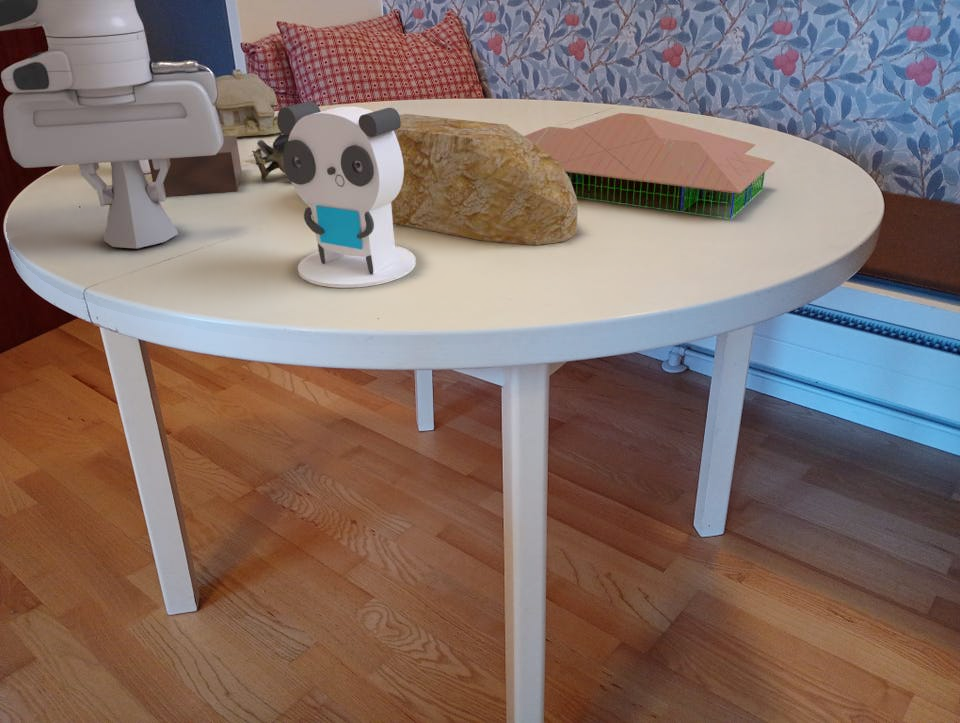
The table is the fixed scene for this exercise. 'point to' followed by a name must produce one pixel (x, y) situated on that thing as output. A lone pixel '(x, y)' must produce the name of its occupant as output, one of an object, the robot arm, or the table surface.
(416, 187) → the brown rock
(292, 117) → the panda figurine
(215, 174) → the walnut block
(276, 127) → the ceramic model
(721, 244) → the table surface
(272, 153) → the eagle figurine
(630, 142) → the house
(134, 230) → the flask
